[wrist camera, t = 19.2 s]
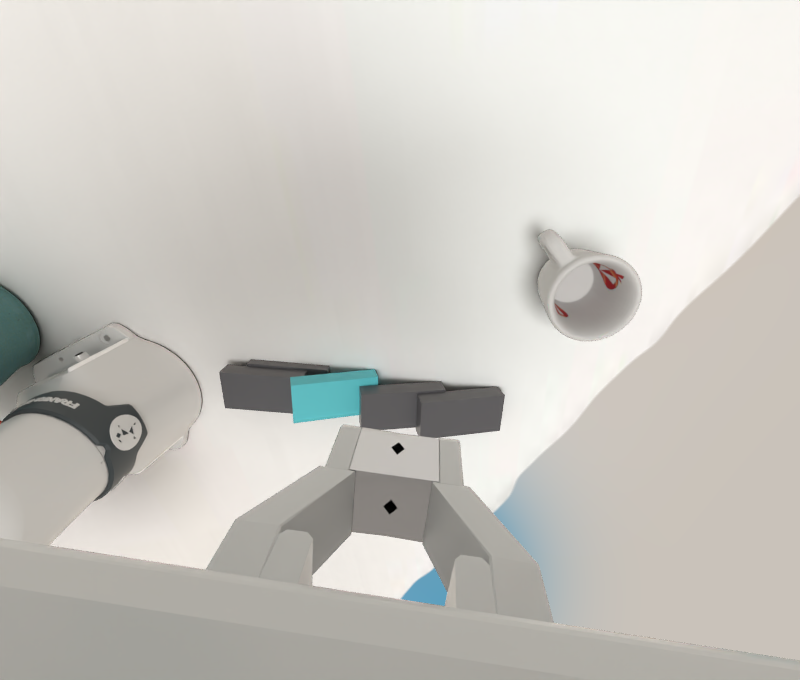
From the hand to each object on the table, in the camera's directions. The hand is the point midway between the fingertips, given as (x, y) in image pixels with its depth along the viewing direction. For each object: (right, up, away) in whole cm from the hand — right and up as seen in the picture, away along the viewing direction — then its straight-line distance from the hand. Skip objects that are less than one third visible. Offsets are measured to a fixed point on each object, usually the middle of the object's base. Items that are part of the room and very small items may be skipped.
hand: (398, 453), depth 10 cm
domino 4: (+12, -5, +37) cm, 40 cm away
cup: (+17, +11, +31) cm, 37 cm away
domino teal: (-3, -3, +38) cm, 38 cm away
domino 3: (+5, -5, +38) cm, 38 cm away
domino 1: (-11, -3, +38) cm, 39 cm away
